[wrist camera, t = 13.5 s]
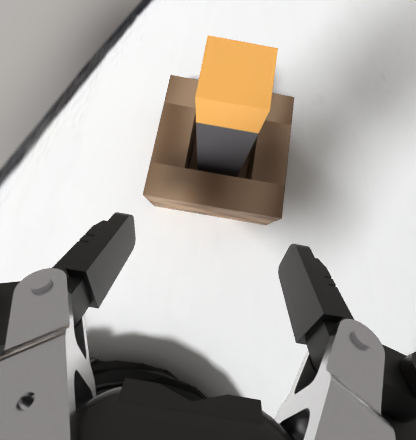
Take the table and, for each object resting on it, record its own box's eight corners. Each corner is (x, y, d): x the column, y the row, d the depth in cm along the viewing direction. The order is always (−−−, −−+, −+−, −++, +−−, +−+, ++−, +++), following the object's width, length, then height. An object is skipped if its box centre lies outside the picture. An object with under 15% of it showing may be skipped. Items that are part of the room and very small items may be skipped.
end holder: (277, 124, 22) (294, 97, 18) (265, 224, 20) (281, 218, 16) (175, 106, 22) (170, 75, 18) (153, 205, 20) (142, 194, 16)
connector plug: (240, 145, 21) (277, 48, 11) (235, 180, 20) (269, 110, 10) (204, 138, 21) (207, 35, 11) (197, 173, 20) (195, 97, 10)
